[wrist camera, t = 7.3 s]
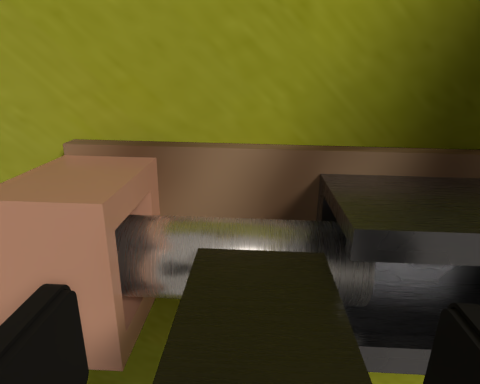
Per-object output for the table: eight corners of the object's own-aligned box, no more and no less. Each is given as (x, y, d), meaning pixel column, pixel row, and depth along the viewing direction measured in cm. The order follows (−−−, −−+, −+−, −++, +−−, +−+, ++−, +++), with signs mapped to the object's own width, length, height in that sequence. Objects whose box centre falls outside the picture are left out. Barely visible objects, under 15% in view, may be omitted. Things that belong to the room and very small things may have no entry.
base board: (528, 150, 15) (546, 156, 14) (488, 289, 17) (501, 302, 16) (74, 139, 16) (62, 143, 15) (93, 273, 18) (84, 284, 17)
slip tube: (354, 209, 14) (514, 437, 5) (346, 276, 15) (467, 559, 6) (74, 200, 14) (-202, 397, 6) (84, 265, 15) (-138, 516, 7)
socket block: (156, 157, 15) (102, 204, 10) (164, 278, 17) (122, 370, 12) (64, 155, 15) (-37, 199, 10) (82, 275, 17) (6, 365, 12)
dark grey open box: (539, 179, 14) (697, 240, 9) (507, 283, 16) (626, 385, 11) (320, 173, 15) (354, 229, 10) (310, 275, 16) (335, 370, 11)
